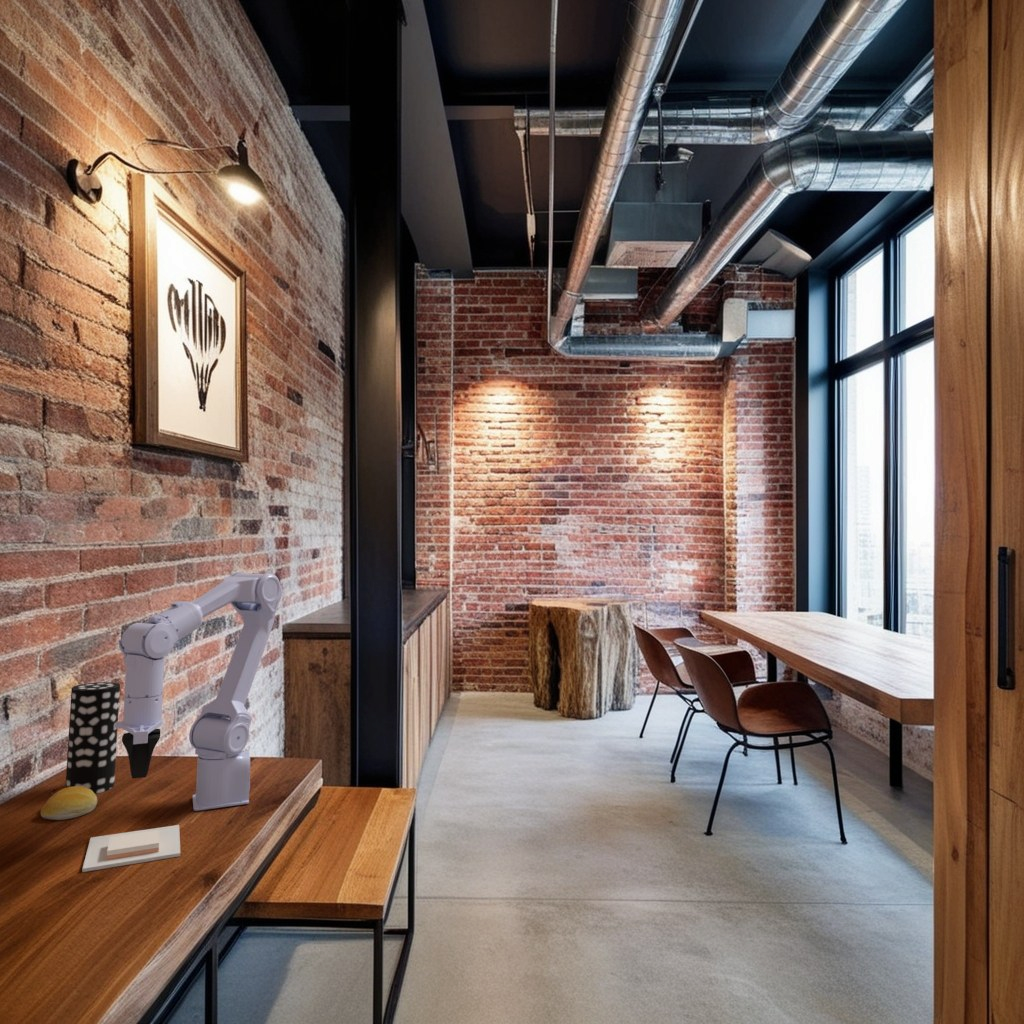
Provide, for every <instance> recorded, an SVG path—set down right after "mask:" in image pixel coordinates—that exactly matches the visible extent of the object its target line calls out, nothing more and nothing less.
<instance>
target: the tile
mask: <svg viewBox="0 0 1024 1024" xmlns="http://www.w3.org/2000/svg"><path fill="white" fill-rule="evenodd" d="M156 852H159V830H154V831H148V832H141V833H134V834H127V835H120V836H113V837H110V839H109V844H108V849H107V860H112V859H118V858H124V857H131V856H137V855H143V854H150V853H156Z"/></svg>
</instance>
